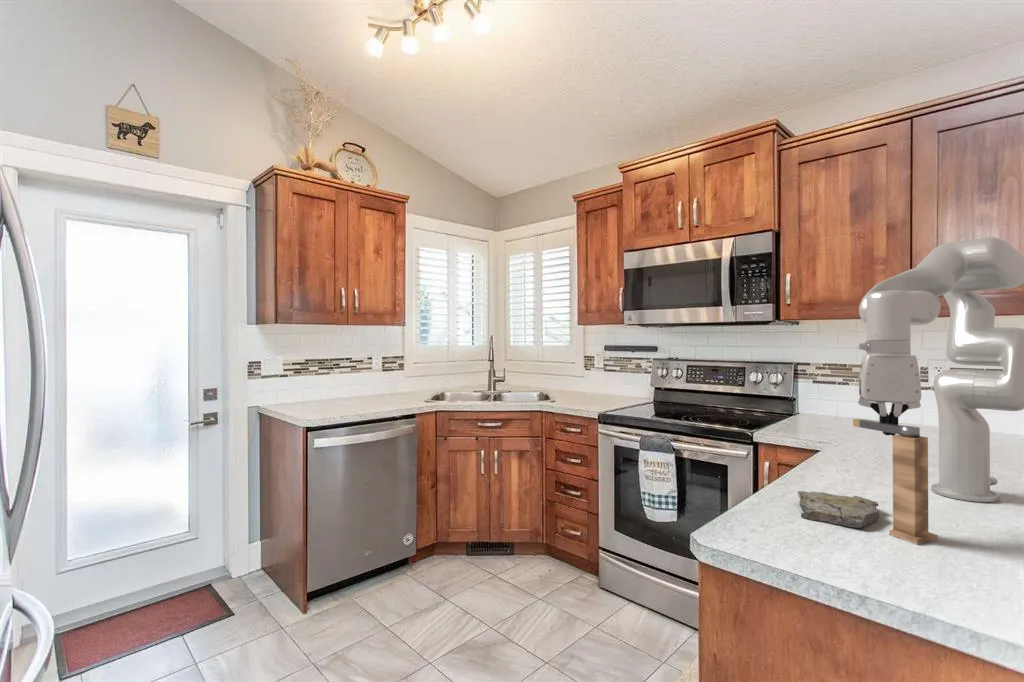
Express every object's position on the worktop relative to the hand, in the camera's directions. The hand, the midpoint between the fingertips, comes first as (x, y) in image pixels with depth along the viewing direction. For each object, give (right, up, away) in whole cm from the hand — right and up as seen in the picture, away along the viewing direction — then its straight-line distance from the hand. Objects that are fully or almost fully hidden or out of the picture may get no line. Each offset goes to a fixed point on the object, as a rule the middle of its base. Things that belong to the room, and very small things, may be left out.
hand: (888, 434), depth 107 cm
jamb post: (-1, -19, -7) cm, 20 cm away
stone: (-7, -20, +4) cm, 22 cm away
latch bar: (-3, +1, -2) cm, 4 cm away
